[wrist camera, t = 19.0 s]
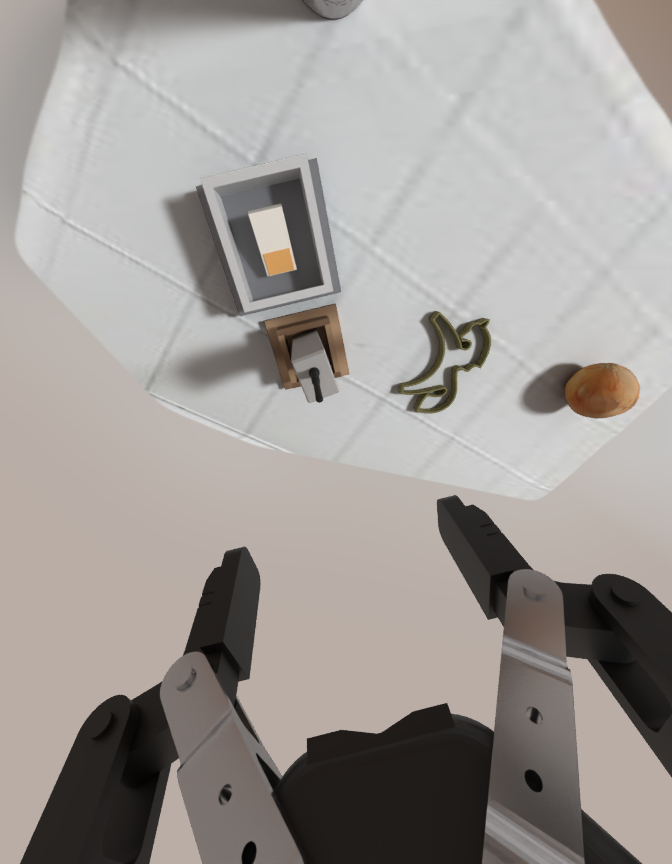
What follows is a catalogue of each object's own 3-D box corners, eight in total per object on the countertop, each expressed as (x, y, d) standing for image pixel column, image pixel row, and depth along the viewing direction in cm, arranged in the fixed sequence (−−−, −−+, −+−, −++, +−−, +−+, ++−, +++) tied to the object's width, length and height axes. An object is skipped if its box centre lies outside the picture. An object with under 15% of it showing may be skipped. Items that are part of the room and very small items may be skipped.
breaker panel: (200, 191, 38) (184, 176, 32) (315, 164, 38) (318, 144, 32) (242, 314, 44) (234, 319, 39) (339, 291, 45) (345, 292, 39)
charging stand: (264, 320, 45) (261, 324, 41) (335, 303, 45) (339, 306, 41) (285, 387, 50) (284, 398, 46) (348, 372, 50) (353, 381, 46)
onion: (603, 348, 54) (663, 361, 45) (600, 395, 59) (655, 415, 50) (551, 368, 55) (601, 385, 46) (552, 414, 59) (598, 437, 50)
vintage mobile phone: (304, 366, 48) (311, 438, 26) (292, 336, 46) (289, 386, 24) (326, 358, 48) (352, 423, 26) (315, 327, 46) (333, 370, 23)
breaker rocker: (248, 211, 35) (248, 214, 34) (281, 203, 35) (281, 206, 34) (267, 272, 41) (267, 276, 40) (295, 265, 41) (296, 269, 40)
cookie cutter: (437, 298, 47) (442, 298, 45) (497, 324, 50) (504, 326, 48) (390, 399, 54) (393, 403, 52) (445, 417, 57) (450, 422, 55)
